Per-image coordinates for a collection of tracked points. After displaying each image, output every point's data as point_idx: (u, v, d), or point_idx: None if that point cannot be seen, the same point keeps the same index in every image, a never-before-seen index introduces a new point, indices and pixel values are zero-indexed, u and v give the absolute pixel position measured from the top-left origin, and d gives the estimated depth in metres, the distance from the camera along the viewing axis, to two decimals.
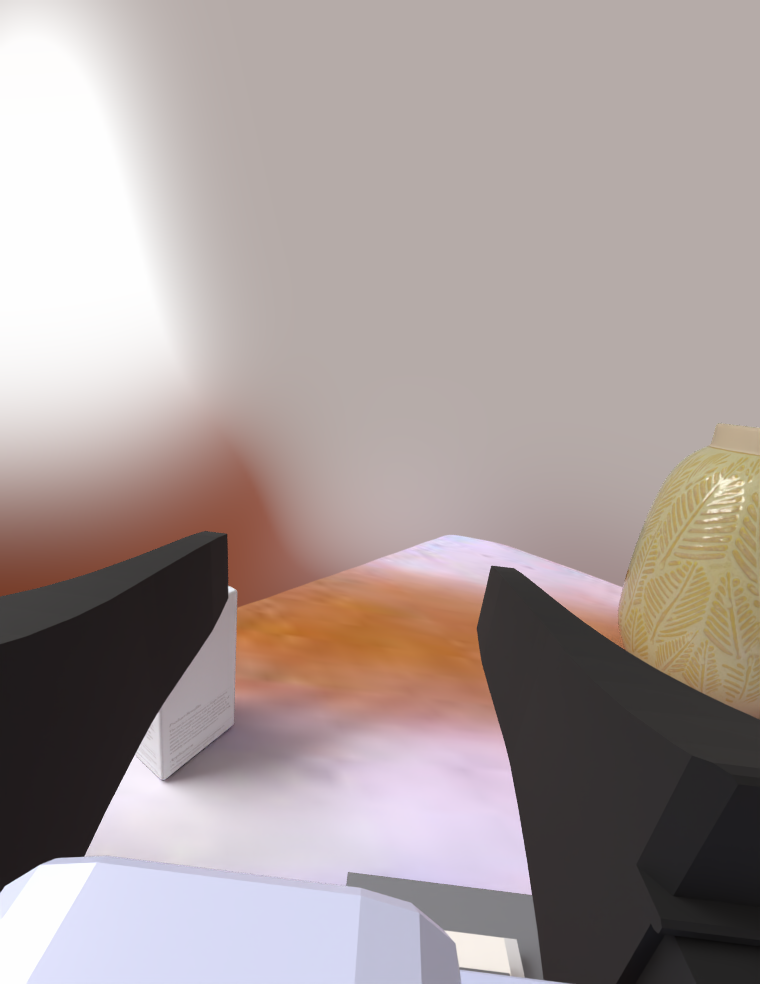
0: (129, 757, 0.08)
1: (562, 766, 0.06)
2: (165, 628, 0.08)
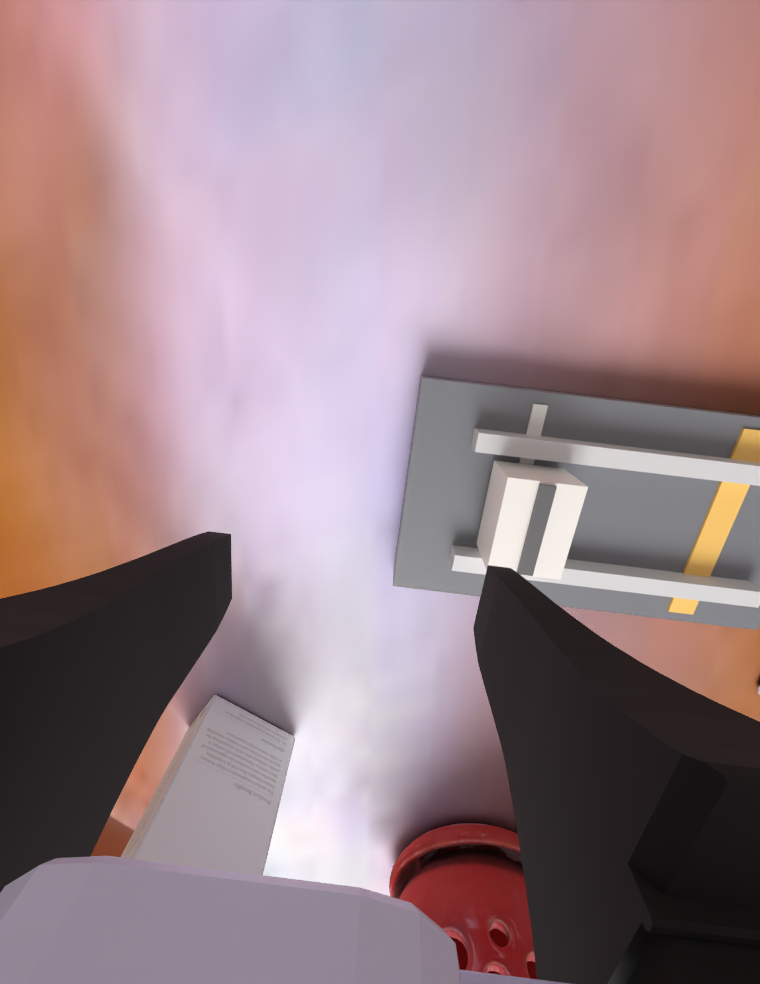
0: (135, 757, 0.08)
1: (556, 765, 0.06)
2: (170, 629, 0.08)
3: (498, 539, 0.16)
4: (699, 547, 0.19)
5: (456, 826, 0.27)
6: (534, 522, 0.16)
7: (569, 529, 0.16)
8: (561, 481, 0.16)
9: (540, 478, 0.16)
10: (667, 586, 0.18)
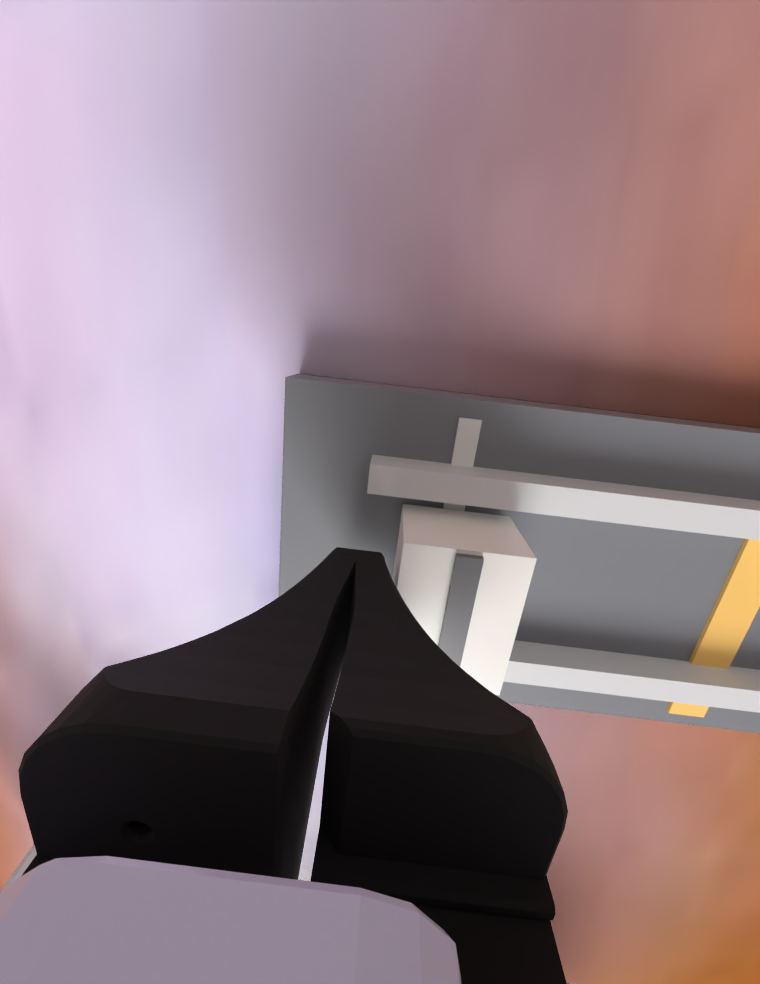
0: None
1: None
2: (335, 649, 0.08)
3: None
4: (714, 627, 0.13)
5: None
6: (451, 613, 0.10)
7: (510, 622, 0.10)
8: (494, 547, 0.09)
9: (461, 541, 0.10)
10: (667, 687, 0.12)
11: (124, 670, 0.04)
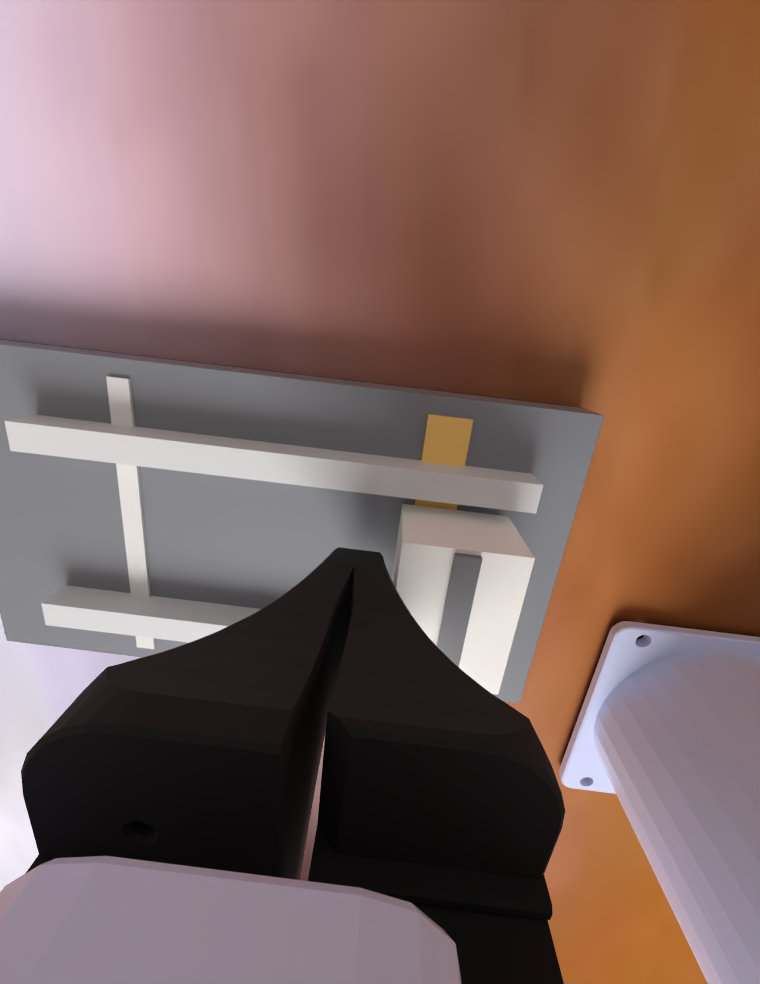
0: (315, 780, 0.08)
1: None
2: (336, 649, 0.08)
3: None
4: None
5: None
6: (450, 612, 0.10)
7: (508, 622, 0.10)
8: (493, 547, 0.10)
9: (459, 541, 0.10)
10: None
11: (126, 670, 0.04)
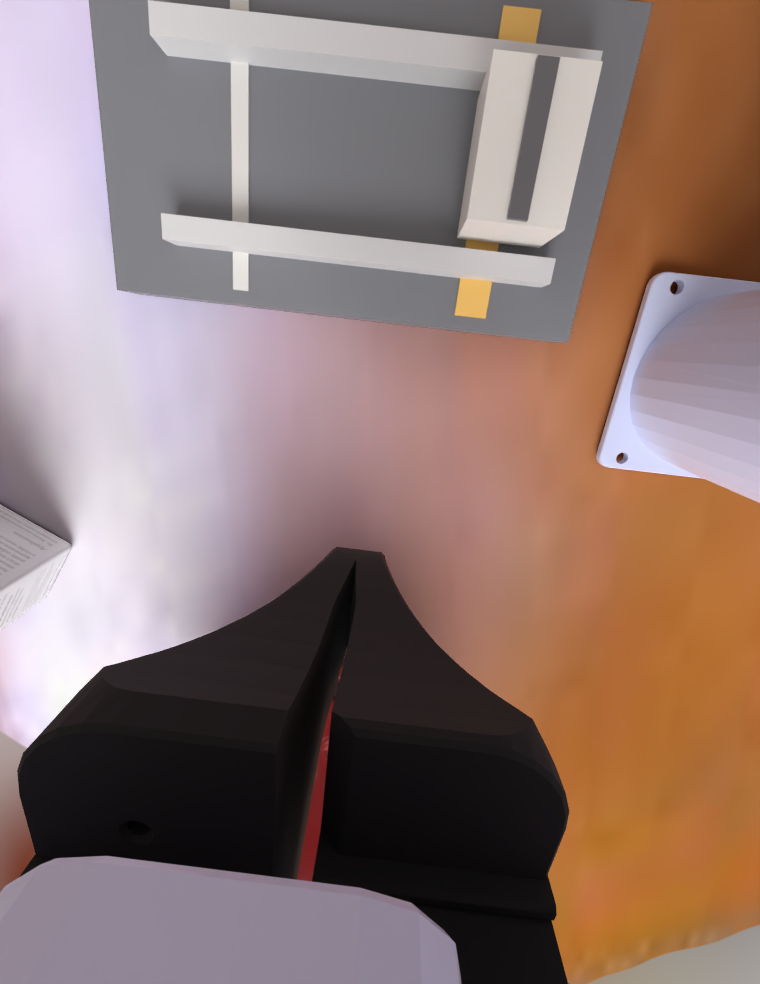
0: (314, 780, 0.08)
1: None
2: (334, 649, 0.08)
3: (481, 162, 0.12)
4: None
5: None
6: (529, 125, 0.12)
7: (577, 139, 0.12)
8: None
9: None
10: (432, 253, 0.14)
11: (123, 670, 0.04)
